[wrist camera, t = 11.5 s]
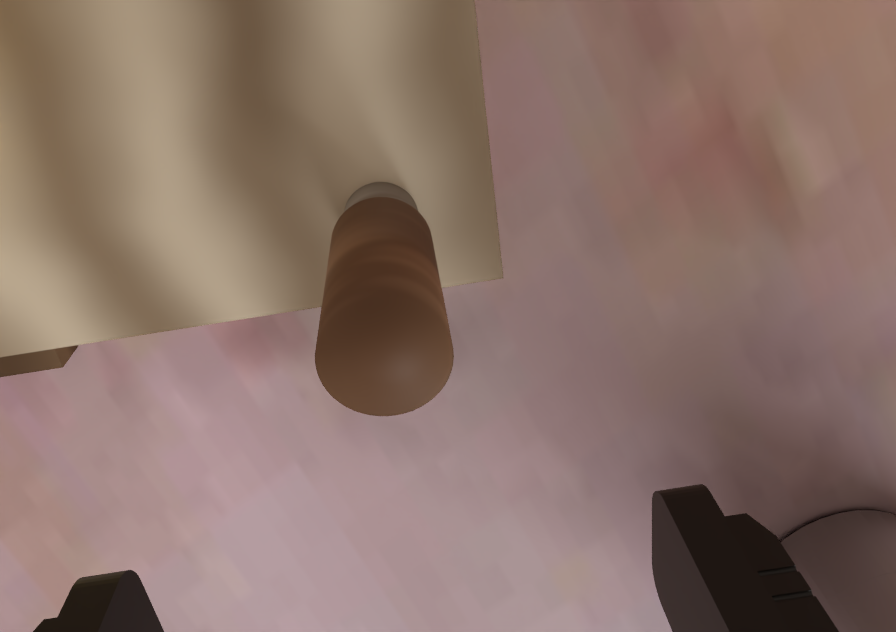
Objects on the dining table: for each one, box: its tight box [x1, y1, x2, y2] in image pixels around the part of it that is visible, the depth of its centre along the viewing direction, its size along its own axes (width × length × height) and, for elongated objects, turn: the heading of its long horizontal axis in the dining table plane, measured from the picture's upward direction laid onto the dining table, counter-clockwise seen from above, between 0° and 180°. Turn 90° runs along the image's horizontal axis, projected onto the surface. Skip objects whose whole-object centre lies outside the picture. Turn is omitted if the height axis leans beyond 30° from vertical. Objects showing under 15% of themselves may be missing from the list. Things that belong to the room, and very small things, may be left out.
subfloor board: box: [0, 0, 503, 377], centre depth 23 cm, size 26×20×2 cm
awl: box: [315, 182, 454, 416], centre depth 21 cm, size 3×3×10 cm
